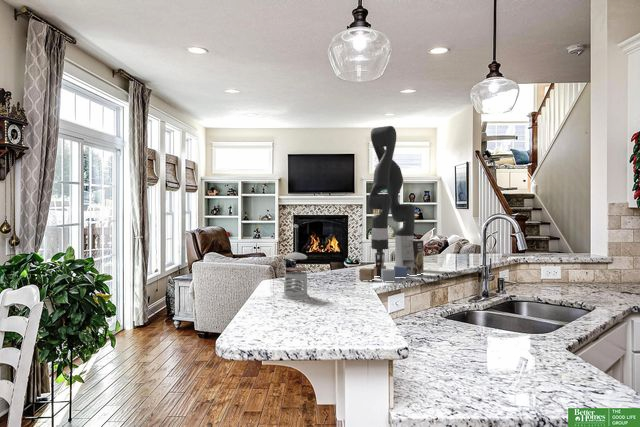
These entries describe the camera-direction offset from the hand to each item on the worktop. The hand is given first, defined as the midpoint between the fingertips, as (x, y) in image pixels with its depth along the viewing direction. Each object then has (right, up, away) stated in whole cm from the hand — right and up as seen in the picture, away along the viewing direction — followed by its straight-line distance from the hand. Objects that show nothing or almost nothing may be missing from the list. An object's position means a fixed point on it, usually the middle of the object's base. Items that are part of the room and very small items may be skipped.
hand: (379, 276), depth 201 cm
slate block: (+2, -1, -12) cm, 12 cm away
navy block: (+9, -1, -2) cm, 9 cm away
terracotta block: (0, 0, 0) cm, 0 cm away
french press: (-36, -1, -46) cm, 58 cm away
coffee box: (+16, -1, +5) cm, 17 cm away
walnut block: (-7, -1, -10) cm, 12 cm away
